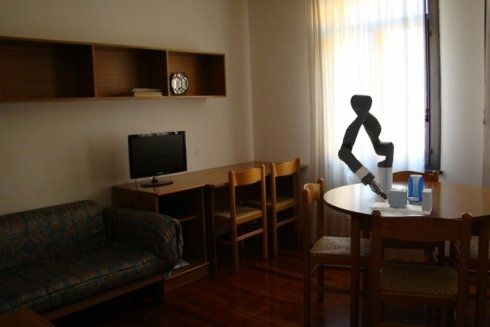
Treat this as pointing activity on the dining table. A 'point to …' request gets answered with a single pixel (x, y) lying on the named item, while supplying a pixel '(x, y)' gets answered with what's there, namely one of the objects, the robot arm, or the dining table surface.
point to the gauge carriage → (399, 198)
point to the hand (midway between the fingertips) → (386, 198)
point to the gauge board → (422, 209)
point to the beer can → (415, 188)
